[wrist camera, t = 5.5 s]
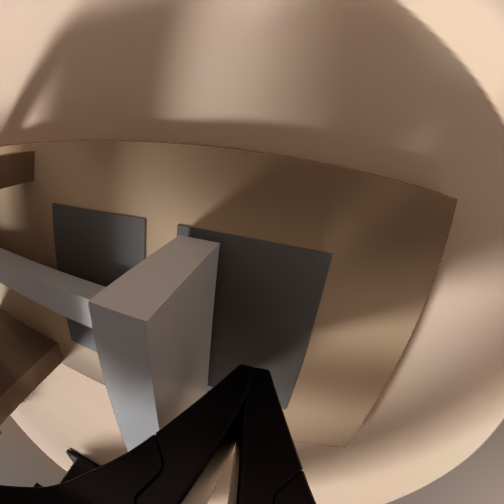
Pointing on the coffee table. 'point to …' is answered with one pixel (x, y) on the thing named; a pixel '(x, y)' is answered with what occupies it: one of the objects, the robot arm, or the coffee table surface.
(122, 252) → the track bed
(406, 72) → the coffee table surface
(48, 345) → the walnut tunnel
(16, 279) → the grey flanged bar
